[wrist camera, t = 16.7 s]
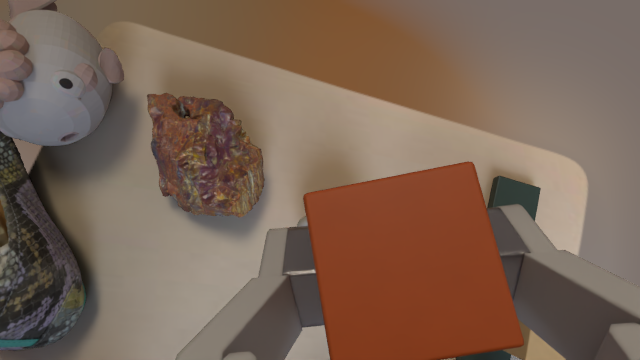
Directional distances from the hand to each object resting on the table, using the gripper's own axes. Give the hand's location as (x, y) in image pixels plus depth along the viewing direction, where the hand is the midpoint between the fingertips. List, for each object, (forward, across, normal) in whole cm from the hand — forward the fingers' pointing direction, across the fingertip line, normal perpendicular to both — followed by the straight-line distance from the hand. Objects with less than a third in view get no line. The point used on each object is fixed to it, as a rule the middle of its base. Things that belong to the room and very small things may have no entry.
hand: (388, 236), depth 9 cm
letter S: (+3, 0, +4) cm, 4 cm away
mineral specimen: (+22, +13, +9) cm, 27 cm away
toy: (+26, +23, +3) cm, 35 cm away
